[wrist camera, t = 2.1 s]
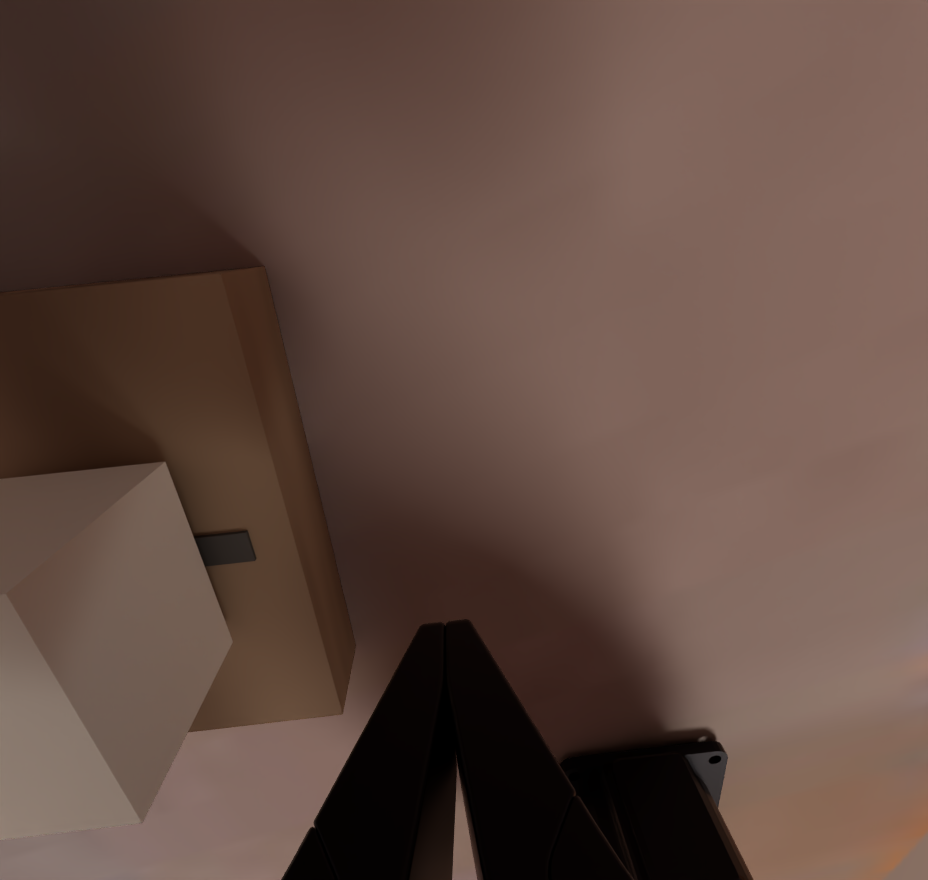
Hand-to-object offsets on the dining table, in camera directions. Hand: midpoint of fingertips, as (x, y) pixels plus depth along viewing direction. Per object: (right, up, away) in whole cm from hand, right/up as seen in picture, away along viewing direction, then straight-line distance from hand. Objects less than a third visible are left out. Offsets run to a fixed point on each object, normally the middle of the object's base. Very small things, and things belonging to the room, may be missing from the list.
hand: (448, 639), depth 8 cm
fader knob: (-8, +1, +3) cm, 8 cm away
